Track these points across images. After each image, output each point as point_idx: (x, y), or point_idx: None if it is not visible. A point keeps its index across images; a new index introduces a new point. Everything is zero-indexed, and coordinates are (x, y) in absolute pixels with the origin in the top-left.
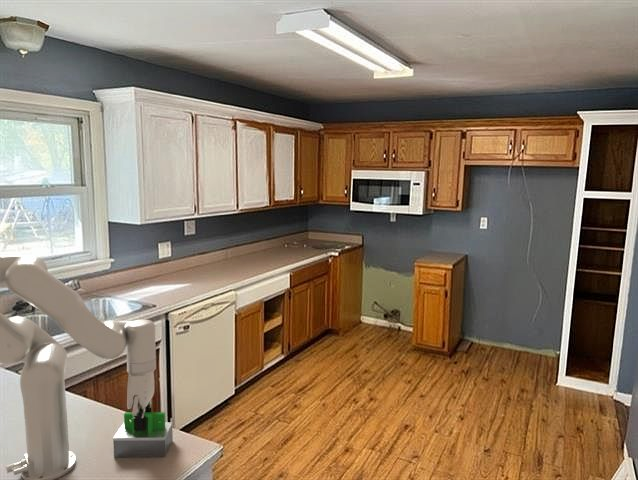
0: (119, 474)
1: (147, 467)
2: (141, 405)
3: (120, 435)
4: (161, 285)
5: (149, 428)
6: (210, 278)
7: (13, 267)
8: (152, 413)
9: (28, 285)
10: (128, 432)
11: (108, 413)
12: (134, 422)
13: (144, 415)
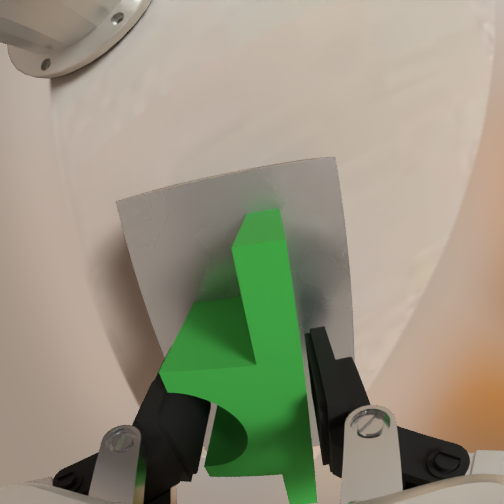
0: (84, 273)
1: (149, 353)
2: (345, 440)
3: (151, 235)
4: None
5: (217, 419)
6: None
7: None
8: (292, 469)
9: None
10: (200, 271)
11: (482, 9)
12: (153, 389)
13: (170, 489)
